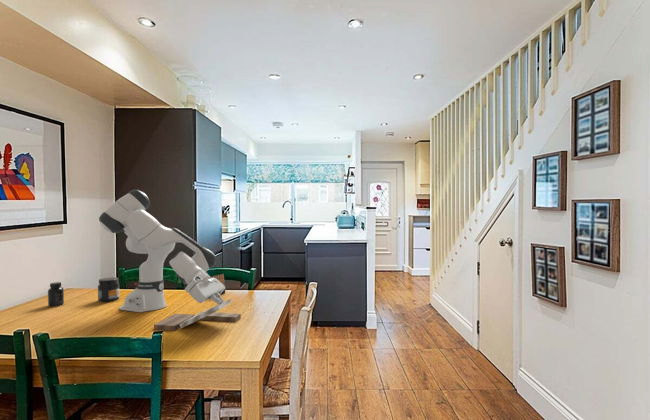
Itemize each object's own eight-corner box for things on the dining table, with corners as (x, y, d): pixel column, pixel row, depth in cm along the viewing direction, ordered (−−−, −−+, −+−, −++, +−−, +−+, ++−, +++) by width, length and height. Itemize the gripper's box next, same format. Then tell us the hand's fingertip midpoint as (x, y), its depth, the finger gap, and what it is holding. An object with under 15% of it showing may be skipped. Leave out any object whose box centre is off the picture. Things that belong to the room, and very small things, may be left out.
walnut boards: (153, 329, 158) (153, 324, 158) (181, 314, 178) (181, 310, 178) (220, 333, 152) (220, 328, 152) (240, 317, 173) (240, 313, 173)
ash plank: (181, 328, 158) (179, 324, 158) (195, 319, 170) (193, 316, 170) (219, 309, 154) (217, 305, 155) (231, 302, 166) (230, 298, 166)
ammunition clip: (211, 297, 212) (211, 276, 212) (209, 296, 213) (209, 276, 213) (225, 293, 221) (225, 273, 221) (223, 292, 222) (222, 273, 222)
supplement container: (123, 299, 207) (123, 278, 207) (103, 303, 199) (103, 281, 198) (113, 296, 213) (113, 276, 213) (94, 301, 204) (93, 279, 204)
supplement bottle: (45, 306, 194) (44, 283, 193) (58, 303, 200) (58, 281, 200) (53, 307, 191) (53, 284, 191) (66, 304, 197) (66, 282, 197)
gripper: (206, 281, 172) (227, 301, 170) (182, 291, 151) (205, 314, 150) (215, 271, 171) (235, 292, 169) (191, 280, 151) (214, 303, 149)
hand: (221, 302), depth 159 cm, fingers closed
